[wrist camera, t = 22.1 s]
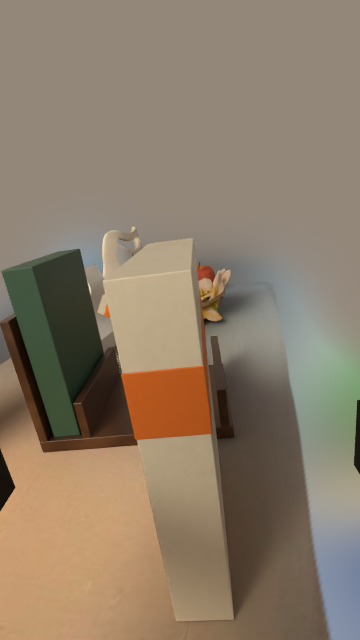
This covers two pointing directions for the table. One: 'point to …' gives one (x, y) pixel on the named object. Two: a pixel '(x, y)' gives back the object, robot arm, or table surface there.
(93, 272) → the white angular piece
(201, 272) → the apple
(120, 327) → the book
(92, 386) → the book rack
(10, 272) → the green book
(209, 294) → the decorative flower
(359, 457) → the robot arm
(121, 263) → the shape sorter
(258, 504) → the table surface
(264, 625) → the table surface
